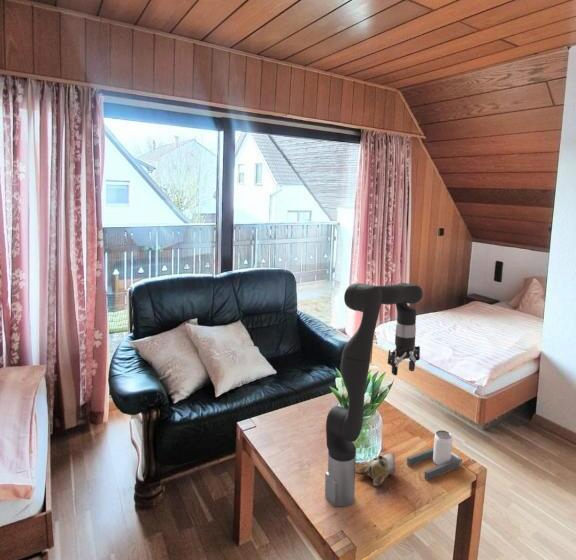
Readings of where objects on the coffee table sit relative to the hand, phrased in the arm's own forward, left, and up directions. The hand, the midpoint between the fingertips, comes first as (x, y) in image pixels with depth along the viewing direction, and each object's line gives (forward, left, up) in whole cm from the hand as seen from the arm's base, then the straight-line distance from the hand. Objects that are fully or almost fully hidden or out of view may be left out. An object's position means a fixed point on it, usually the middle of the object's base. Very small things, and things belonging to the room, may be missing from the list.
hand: (403, 372), depth 171 cm
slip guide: (+4, -16, -33) cm, 37 cm away
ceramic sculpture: (-19, -11, -33) cm, 40 cm away
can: (+8, -16, -33) cm, 37 cm away
